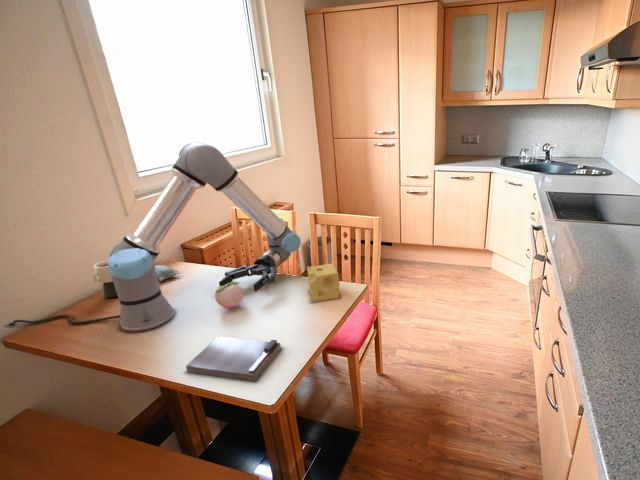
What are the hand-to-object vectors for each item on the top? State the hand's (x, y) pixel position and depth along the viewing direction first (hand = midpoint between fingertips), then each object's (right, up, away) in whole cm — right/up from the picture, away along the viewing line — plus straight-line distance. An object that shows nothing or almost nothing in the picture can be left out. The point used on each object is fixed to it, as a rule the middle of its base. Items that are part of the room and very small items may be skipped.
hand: (237, 286), depth 134 cm
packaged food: (-40, +2, +24) cm, 46 cm away
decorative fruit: (-1, -7, -2) cm, 8 cm away
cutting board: (+11, -18, -29) cm, 36 cm away
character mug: (-50, -4, +10) cm, 51 cm away
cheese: (+30, -3, +6) cm, 30 cm away
